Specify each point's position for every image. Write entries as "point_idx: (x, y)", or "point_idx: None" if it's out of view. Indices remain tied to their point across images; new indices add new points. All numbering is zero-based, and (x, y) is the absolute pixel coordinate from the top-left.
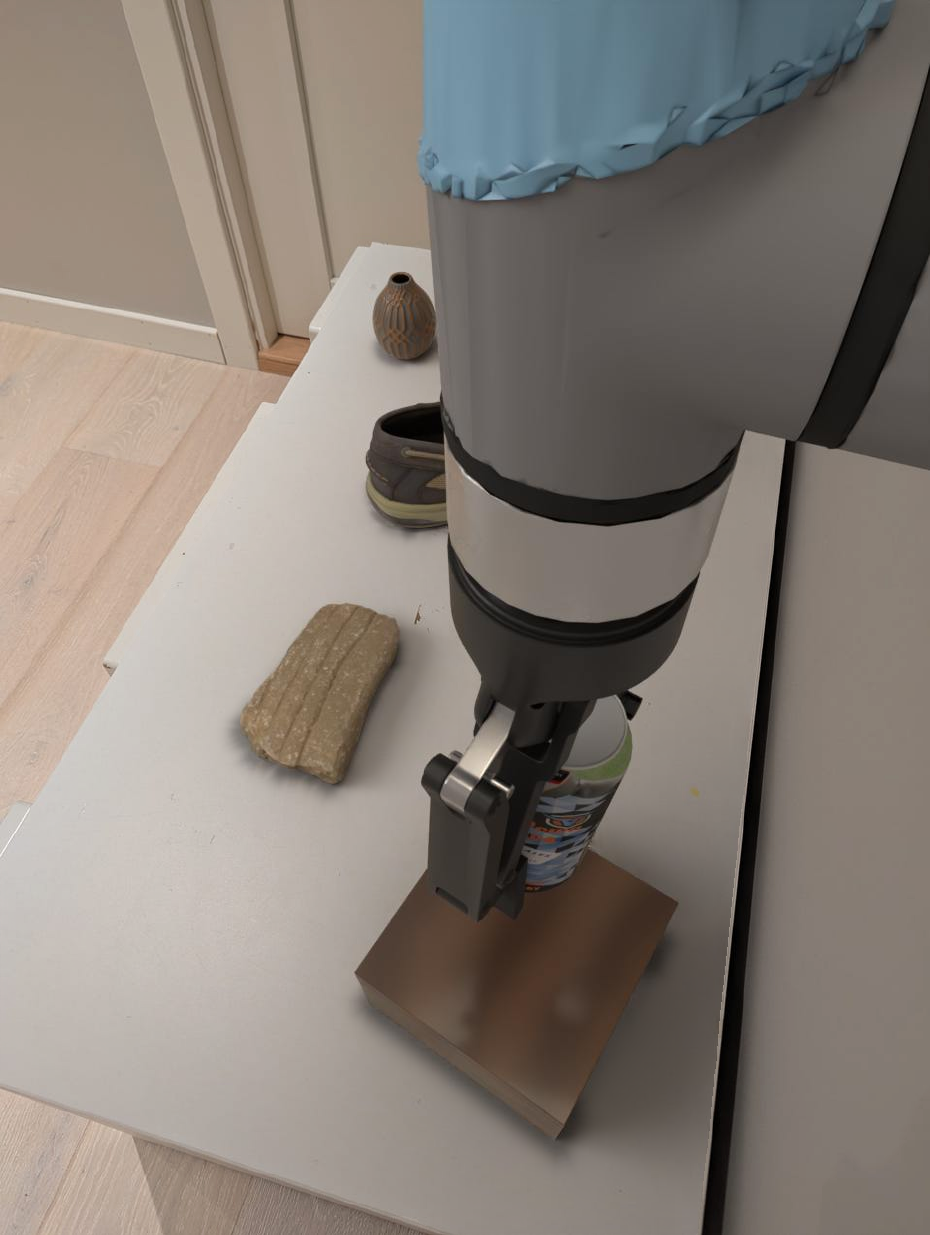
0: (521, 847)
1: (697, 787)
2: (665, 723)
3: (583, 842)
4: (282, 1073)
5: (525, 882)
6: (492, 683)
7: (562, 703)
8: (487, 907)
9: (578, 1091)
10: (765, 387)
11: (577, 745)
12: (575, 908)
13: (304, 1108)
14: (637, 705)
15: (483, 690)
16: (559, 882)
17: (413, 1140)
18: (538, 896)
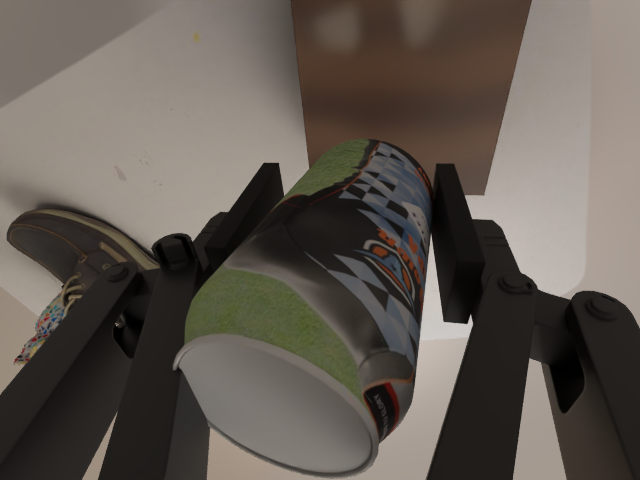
0: (486, 319)
1: (191, 37)
2: (173, 90)
3: (371, 186)
4: (531, 173)
5: (446, 206)
6: None
7: None
8: (606, 313)
9: None
10: None
11: (306, 401)
12: (352, 80)
13: (547, 150)
14: (165, 246)
15: None
16: (398, 151)
17: (542, 74)
18: (361, 113)
